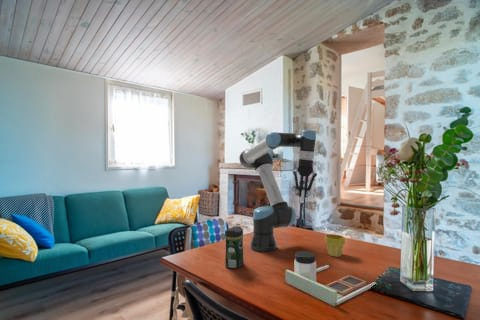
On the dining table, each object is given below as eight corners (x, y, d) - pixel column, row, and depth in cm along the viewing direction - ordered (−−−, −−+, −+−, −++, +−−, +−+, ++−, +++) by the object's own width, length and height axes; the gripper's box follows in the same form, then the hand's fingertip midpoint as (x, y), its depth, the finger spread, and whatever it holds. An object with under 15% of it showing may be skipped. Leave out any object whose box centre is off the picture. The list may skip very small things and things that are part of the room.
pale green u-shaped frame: (327, 267, 135) (327, 256, 135) (376, 285, 116) (376, 272, 116) (285, 282, 119) (285, 270, 119) (334, 306, 100) (334, 292, 100)
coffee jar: (231, 260, 144) (230, 224, 144) (245, 263, 141) (245, 225, 141) (222, 267, 135) (222, 229, 135) (237, 270, 132) (237, 230, 132)
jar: (319, 286, 115) (319, 256, 115) (301, 288, 113) (301, 258, 113) (308, 277, 124) (308, 250, 124) (291, 279, 122) (291, 251, 122)
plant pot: (342, 251, 157) (342, 234, 157) (347, 258, 147) (347, 239, 147) (323, 251, 158) (323, 233, 158) (327, 257, 148) (327, 239, 148)
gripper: (294, 158, 148) (290, 202, 150) (319, 160, 147) (315, 205, 148) (293, 157, 155) (288, 199, 157) (317, 159, 154) (312, 202, 156)
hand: (301, 202), depth 153 cm, fingers closed
